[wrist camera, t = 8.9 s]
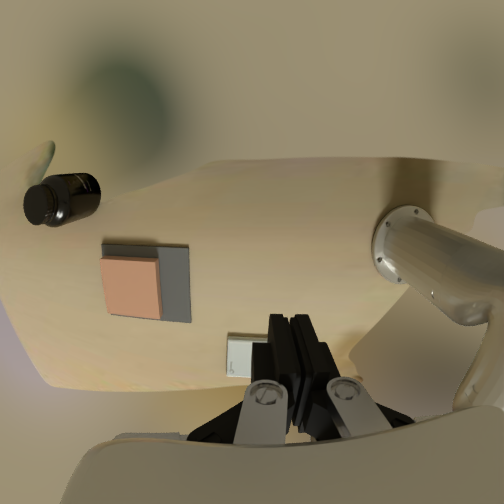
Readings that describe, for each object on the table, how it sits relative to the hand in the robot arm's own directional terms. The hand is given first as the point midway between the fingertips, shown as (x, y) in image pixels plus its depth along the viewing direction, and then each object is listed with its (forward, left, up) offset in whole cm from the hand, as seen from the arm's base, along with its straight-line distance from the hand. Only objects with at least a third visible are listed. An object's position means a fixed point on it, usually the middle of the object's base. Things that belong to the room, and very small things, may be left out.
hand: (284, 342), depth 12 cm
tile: (+6, +16, -26) cm, 31 cm away
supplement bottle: (+24, +12, -27) cm, 38 cm away
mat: (+8, +17, -27) cm, 33 cm away
